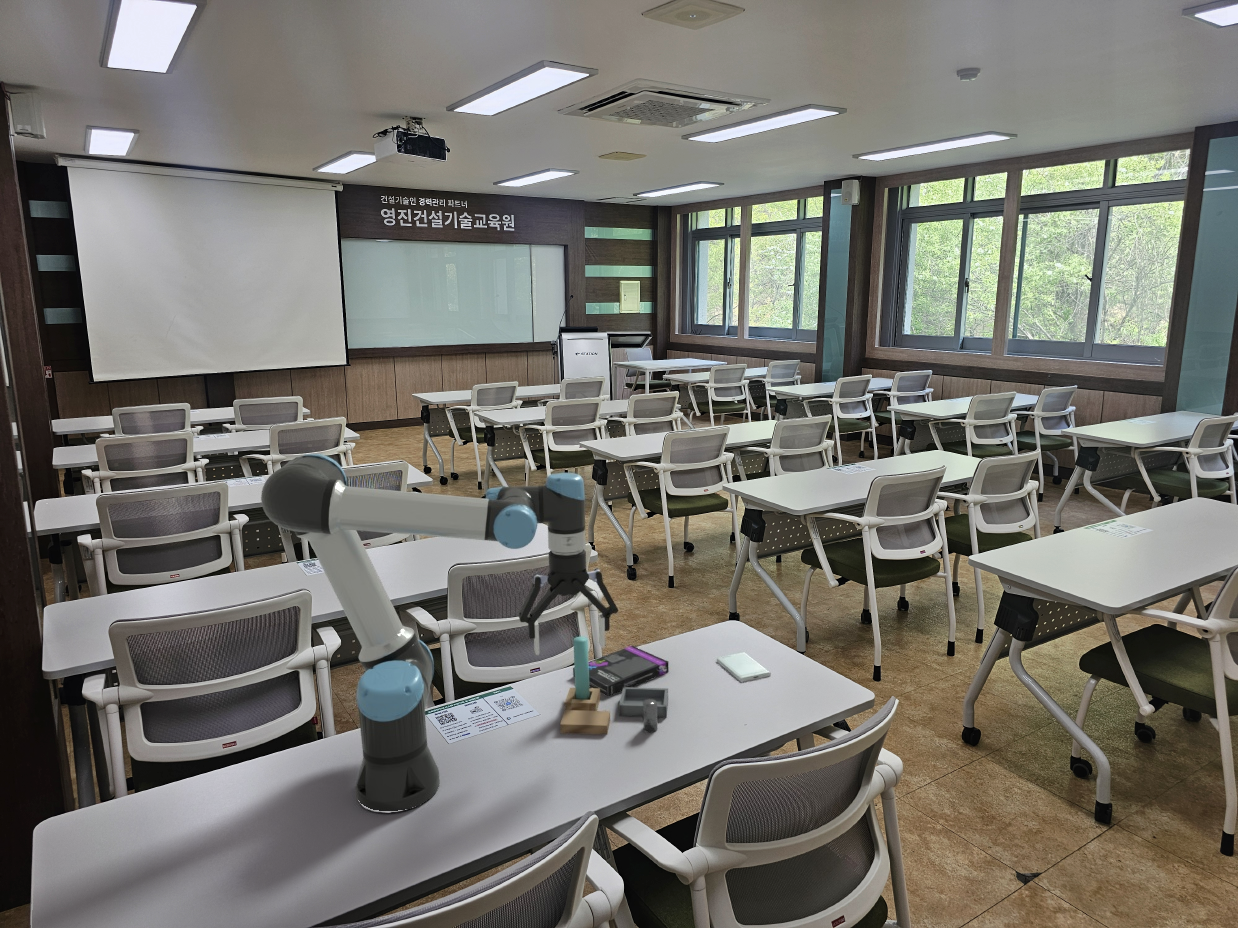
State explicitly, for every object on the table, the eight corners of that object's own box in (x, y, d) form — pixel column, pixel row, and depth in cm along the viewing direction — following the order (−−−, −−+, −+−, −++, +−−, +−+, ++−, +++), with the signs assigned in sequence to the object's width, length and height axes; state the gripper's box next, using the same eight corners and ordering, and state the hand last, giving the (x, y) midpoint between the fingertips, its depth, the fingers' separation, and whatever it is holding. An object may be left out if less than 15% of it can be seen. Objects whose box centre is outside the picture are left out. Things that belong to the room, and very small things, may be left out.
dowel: (574, 708, 177) (572, 642, 174) (577, 701, 180) (574, 636, 177) (588, 709, 177) (586, 642, 174) (590, 702, 180) (588, 636, 177)
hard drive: (716, 657, 199) (741, 677, 188) (744, 651, 202) (770, 671, 190) (716, 663, 199) (741, 684, 188) (744, 657, 202) (770, 677, 191)
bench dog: (642, 731, 167) (642, 705, 165) (644, 724, 170) (643, 698, 168) (657, 732, 166) (656, 706, 165) (657, 724, 169) (657, 699, 168)
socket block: (565, 712, 175) (564, 702, 175) (570, 697, 182) (570, 687, 182) (596, 713, 175) (595, 703, 174) (600, 698, 181) (599, 688, 181)
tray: (619, 715, 173) (619, 705, 173) (623, 697, 182) (623, 687, 181) (666, 717, 172) (666, 706, 172) (668, 698, 180) (668, 688, 180)
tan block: (560, 734, 167) (560, 724, 167) (565, 720, 173) (564, 709, 172) (607, 736, 166) (607, 725, 166) (610, 721, 172) (609, 711, 171)
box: (633, 657, 205) (572, 678, 193) (633, 644, 204) (571, 665, 192) (669, 674, 194) (607, 698, 182) (669, 661, 193) (606, 684, 181)
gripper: (506, 560, 152) (510, 662, 156) (631, 550, 157) (632, 649, 161) (503, 549, 159) (507, 647, 163) (623, 540, 164) (624, 635, 168)
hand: (569, 648), depth 162 cm, fingers open, 13 cm apart
